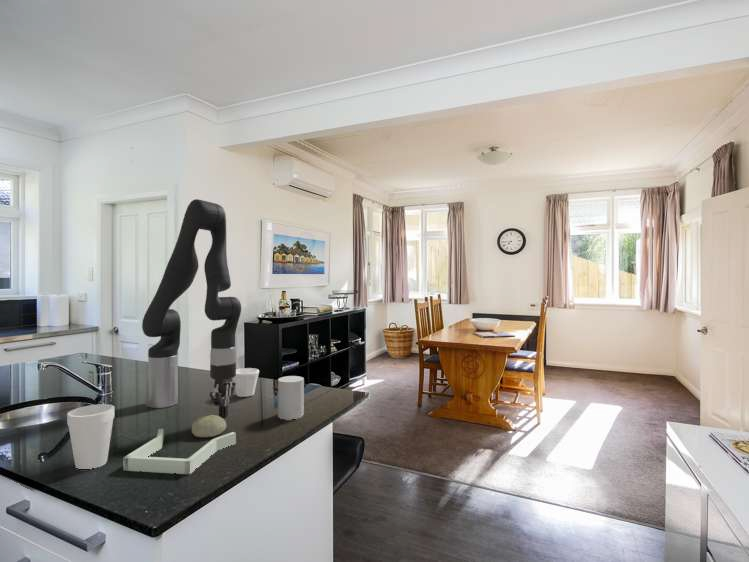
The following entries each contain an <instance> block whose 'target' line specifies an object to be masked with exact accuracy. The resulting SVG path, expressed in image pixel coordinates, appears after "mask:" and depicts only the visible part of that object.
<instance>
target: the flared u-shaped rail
mask: <svg viewBox="0 0 749 562" xmlns="http://www.w3.org/2000/svg"><path fill="white" fill-rule="evenodd" d="M156 435H157V436H156V437H155V438H153V439H150V440H149V441H148V442H146V443H144V444H143V445H141V446H140V447H138V448H136V449H135V450H133V451H132V452H130V453H128V454H127V455H125V456H124V457H122V469H123V471H125V472H126V471H127V472H140V471H141V473H143V472H144V473H157V474H158V473H161V474H174V473H176V474H178V475H191V474H192V473H193V472H195V471H196V470H197V469H198V468H199V467H200V466H202V465H203V464H204V463H205V462H206V461H207V460H208V459H210V458H211V457H212V456H213V455H214V454H215V453H216V452H218V450H219V451H221V450H224V449H227V448H228V446H229V447H232V446H233V445H236V444H237V433H236V432H235V431H232V432H229V433H226V434H222V435H221V436H220V435H219V436H216V437H215V438H213V439H211V440H210V441H209V442H208V441H207V443H206V444H205V445H203V446H202V447H201V448H200V449H198V450H197V451H195V453H193V454H192V455H191V456H190V457H188V458H178V457H160V456H152V455H154V454H155V453H157V452H158V451H160V450H161V449H162V448H163V443H164V428H159V429H158V430H157V434H156ZM231 445H232V446H231ZM226 447H227V448H226ZM223 448H224V449H223ZM156 451H157V452H156ZM153 453H154V454H153ZM151 454H152V455H151ZM150 455H151V456H150ZM211 455H212V456H211ZM148 456H149V457H148ZM210 456H211V457H210ZM202 463H203V464H202ZM196 468H197V469H196ZM195 469H196V470H195ZM176 474H175V475H176Z"/></svg>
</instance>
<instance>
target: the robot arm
mask: <svg viewBox="0 0 749 562" xmlns="http://www.w3.org/2000/svg"><path fill="white" fill-rule="evenodd" d="M226 216H227V215H226V211H225V208H224V207H223V206H222V205H220V204H218V203H215V202H211V201H207V200H202V199H198V198H196V199H193V200H191V202H190V203H189V204H188V206H187V207H186V210H185V213H184V217H183V220H182V223H181V226H180V230H179V232H178V233H179V234H178V237H177V241H176V243H175V245H174V248H173V250H172V254H171V256H170V258H169V260H168V262H167V265H166V267H165V270H164V273H163V276H162V279H161V280H160V283H159V286H158V288H157V291H156V293H155V295H154V296H153V298H152V300H151V302H150V304H149V306H148V308H147V310H146V311H145V313H144V316H143V317H142V318H143V319H142V324H141V329H142V332H143V335H145V336H146V337H149V338H158V337H160V338H159V340H158V342H156V343H155V344H153V345H152V346H151V347H149V348H148V352H147V360H148V363H147V364H148V365H147V367H148V372H147V373H148V376H147V377H146V379H145V407H149V408H151V409H152V408H153V409H162V408H163V409H164V408H169V407H172V406H175V405H177V404H178V403H179V402H178V401H179V395H178V393H179V388H178V386H179V377H178V375H179V372H178V371H179V368H178V366H179V364H178V363H179V362H178V361H179V360H178V358H179V354H178V353H179V351H178V350H179V348H180V345H181V331H182V330H181V329H182V328H181V327H182V326H181V325H182V323H181V322H182V321H181V316H180V314H179V312H178V311H177V310H176V309H173V308H172V309H171V308H170V307H171V306H172V305H173V303H175V301H176V300H177V299H178V298H180V297H181V296H182V295H183V294H184V293H186V291H187V290H188V289H189V288H191V285H192V284H193V282H194V280H195V279H196V278H195V277H196V276H197V274H198V273H197V272H198V270H199V259H198V254H197V252H196V247H195V244H196V243H195V241H196V239H197V235H198V233H199V230H203V231H208V232H210V235H211V246H210V249H209V251H208V252H207V255H206V257H205V260H204V267H203V269H204V275H205V281H206V295H205V296H206V297H205V302H204V314H205V316H206V317H207V319H208V320H210V321H223V320H225V322H224V323H223V325H221V326H218V327H216V328H213V329H212V330H211V334H210V347H211V348H210V354H209V360H210V363H209V366H210V367H209V368H210V369H209V372H210V373H209V376H210V379H214V385H213V388H214V390H213V391H211V392H210V393H209V397H210V399H211V401H212V403H213V405H214V406H215V407H218V416H219V417H221V418H223V419H226V418H227V417H228V416H229V405H230V402H232V399H233V396H234V392H235V385H236V383H234V382H233V377H235V376H236V370H237V350H236V331H237V328H238V324H239V320H240V317H241V315H242V314H241V313H242V303H241V302H240V300H239V299H238V297H235V296H219V293H222V292H225V291H227V290H229V289H230V288H231V285H232V282H231V277H230V270H229V266H228V265H229V264H228V258H227V217H226Z"/></svg>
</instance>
